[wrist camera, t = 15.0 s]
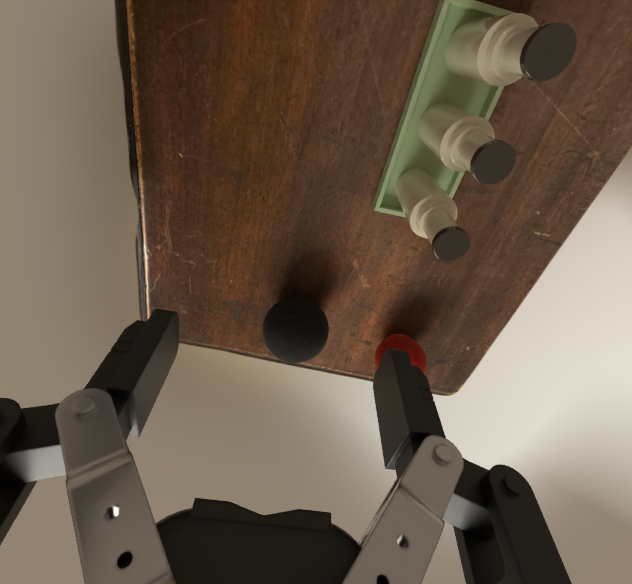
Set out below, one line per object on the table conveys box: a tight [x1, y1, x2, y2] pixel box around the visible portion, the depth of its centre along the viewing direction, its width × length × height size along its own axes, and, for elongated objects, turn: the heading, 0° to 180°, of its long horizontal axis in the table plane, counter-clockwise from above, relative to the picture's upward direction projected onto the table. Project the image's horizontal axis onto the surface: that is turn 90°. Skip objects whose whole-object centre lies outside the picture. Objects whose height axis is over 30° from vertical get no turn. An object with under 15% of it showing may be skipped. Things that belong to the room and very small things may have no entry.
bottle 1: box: [445, 13, 577, 86], centre depth 30 cm, size 5×5×16 cm
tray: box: [372, 0, 535, 217], centre depth 41 cm, size 22×9×2 cm, turn 167°
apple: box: [374, 334, 426, 373], centre depth 57 cm, size 8×8×10 cm
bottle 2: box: [418, 102, 516, 184], centre depth 35 cm, size 5×5×16 cm
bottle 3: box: [395, 168, 470, 261], centre depth 39 cm, size 5×5×16 cm
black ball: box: [263, 297, 329, 363], centre depth 54 cm, size 10×10×10 cm
